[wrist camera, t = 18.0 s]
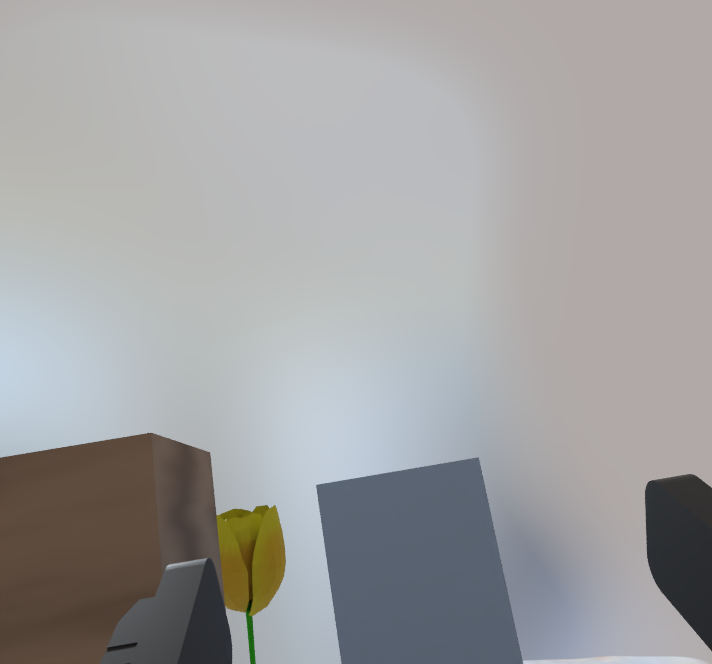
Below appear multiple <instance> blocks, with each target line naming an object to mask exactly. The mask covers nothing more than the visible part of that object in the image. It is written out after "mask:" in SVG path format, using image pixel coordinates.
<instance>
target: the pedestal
mask: <svg viewBox="0 0 712 664" xmlns="http://www.w3.org/2000/svg"><path fill="white" fill-rule="evenodd" d="M205 558H211V559H212V561H213V563H214V566H215V569H216V573H217V577H218V582H219V586H220V590H221V594H222V599H223V603H224V607H225V599H224V589H223V579H222V569H221V558H220V548H219V538H218V528H217V518H216V507H215V497H214V487H213V477H212V467H211V457H210V452H207V451H204V450H201V449H197V448H195V447H192V446H189V445H186V444H183V443H180V442H177V441H174V440H171V439H168V438H165V437H162V436H159V435H156V434H153V433H147V434H141V435H135V436H129V437H123V438H117V439H111V440H105V441H99V442H93V443H87V444H81V445H75V446H68V447H62V448H56V449H50V450H44V451H39V452H33V453H26V454H20V455H14V456H9V457H2V458H0V664H100V662H101V660H102V658H103V655H104V653H105V652H107V646H108V644H109V642H110V639H111V637H112V635H113V632H114V630H115V628H116V626H117V623H118V622H119V621H120V620H121V619H122V618H123V616H124V615H125V614H126V613H127V612H128V611H129V610H130V609H131V608H132V607H133V606H134V604H135V603H136V602H137V601H138V600H140V599H146V598H152V597H155V595H156V592H157V590H158V587H159V584H160V582H161V579H162V576H163V574H164V571H165V569H166V567H167V566H168V565H170V564H175V563H181V562H187V561H193V560H199V559H205ZM225 611H226V609H225Z"/></svg>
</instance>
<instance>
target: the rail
mask: <svg viewBox="0 0 712 664" xmlns="http://www.w3.org/2000/svg"><path fill="white" fill-rule="evenodd" d="M316 487H317V494H318V501H319V508H320V515H321V522H322V529H323V536H324V543H325V550H326V557H327V564H328V571H329V578H330V585H331V592H332V599H333V606H334V613H335V620H336V627H337V634H338V641H339V648H340V655H341V662H342V664H523V661H522V657H521V652H520V647H519V643H518V638H517V633H516V629H515V624H514V619H513V615H512V610H511V606H510V601H509V596H508V592H507V587H506V582H505V578H504V574H503V569H502V564H501V559H500V554H499V550H498V545H497V541H496V536H495V531H494V527H493V522H492V518H491V513H490V508H489V503H488V499H487V494H486V489H485V485H484V480H483V476H482V471H481V466H480V462H479V458H473V459H467V460H462V461H455V462H449V463H444V464H437V465H432V466H425V467H419V468H414V469H408V470H402V471H396V472H390V473H384V474H378V475H372V476H367V477H361V478H355V479H349V480H343V481H337V482H332V483H325V484H320V485H316Z"/></svg>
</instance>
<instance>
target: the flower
mask: <svg viewBox="0 0 712 664" xmlns="http://www.w3.org/2000/svg"><path fill="white" fill-rule="evenodd" d="M216 518H217V528H218V538H219V548H220V558H221V569H222V579H223V589H224V599H225V606H226V607H227V608H228V609H231V610H235V611H240V612H246V618H247V629H248V640H249V651H250V662H251V664H256V663H255V650H254V635H253V620H252V616H253V615H255V614H256V613H258V612H259V611H261V610H262V609H264V608H265V607H267V606H268V604H269V603H270V601H271V600H272V598H273V597H274V595H275V594H276V592H277V590H278V589H279V587H280V584H281V582H282V580H283V577H284V572H285V564H286V563H285V562H286V560H285V545H284V540H283V533H282V528H281V525H280V521H279V516H278V512H277V508H276V506H275V505H274V506H273V507H271V508H270V509H269V507H268V506H267V505H265V506H257V507H256V508H255V509H254V511H253V512H250V511H247V510H243V509H232V510H230V511H227V512H225V513H222V514H220V515H216Z"/></svg>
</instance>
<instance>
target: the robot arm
mask: <svg viewBox="0 0 712 664" xmlns="http://www.w3.org/2000/svg"><path fill="white" fill-rule="evenodd" d="M645 505H646V534H647V558H648V563H649V567H650V570H651V573H652V575H653V578H654V580H655V582H656V584H657V586H658V587H659V589H660V590H661V592H662V593H663V594H664V595H665V596H666V597H667V599H668V600H669V601H670V602H671V604H672V605H673V606H674V607H675V608H676V609H677V610H678V612H679V613H680V614H681V615H682V616H683V618H684V619H685V620H686V621H687V622H688V624H689V625H690V626H691V627H692V628H693V629H694V631H695V632H696V633H697V634H698V635H699V637H700V638H701V639H702V640H703V641H704V642H705V644H706V645H707V646H708V647H709V648H710V650H711V651H712V488H711V487H710V486H708V485H707V484H706V483H705V482H703V481H702V480H701V479H699V478H698V477H697V476H695V475H692V474H687V475H681V476H676V477H670V478H664V479H658V480H652V481H649V482H648V484H647V486H646V490H645ZM100 664H232V642H231V634H230V629H229V624H228V620H227V616H226V611H225V607H224V603H223V599H222V594H221V590H220V586H219V582H218V577H217V573H216V569H215V566H214V563H213V561H212V559H211V558H205V559H199V560H193V561H187V562H181V563H175V564H170V565H168V566H167V567H166V569H165V571H164V574H163V576H162V579H161V582H160V584H159V587H158V590H157V592H156V595H155V597H152V598H146V599H140V600H138V601H137V602H136V603H135V604H134V606H133V607H132V608H131V609H130V610H129V611H128V612H127V613H126V614H125V615H124V616H123V618H122V619H121V620H120V621H119V622H118V623H117V626H116V628H115V630H114V632H113V635H112V637H111V639H110V642H109V644H108V646H107V652H105V653H104V655H103V658H102V660H101V662H100Z"/></svg>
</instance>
